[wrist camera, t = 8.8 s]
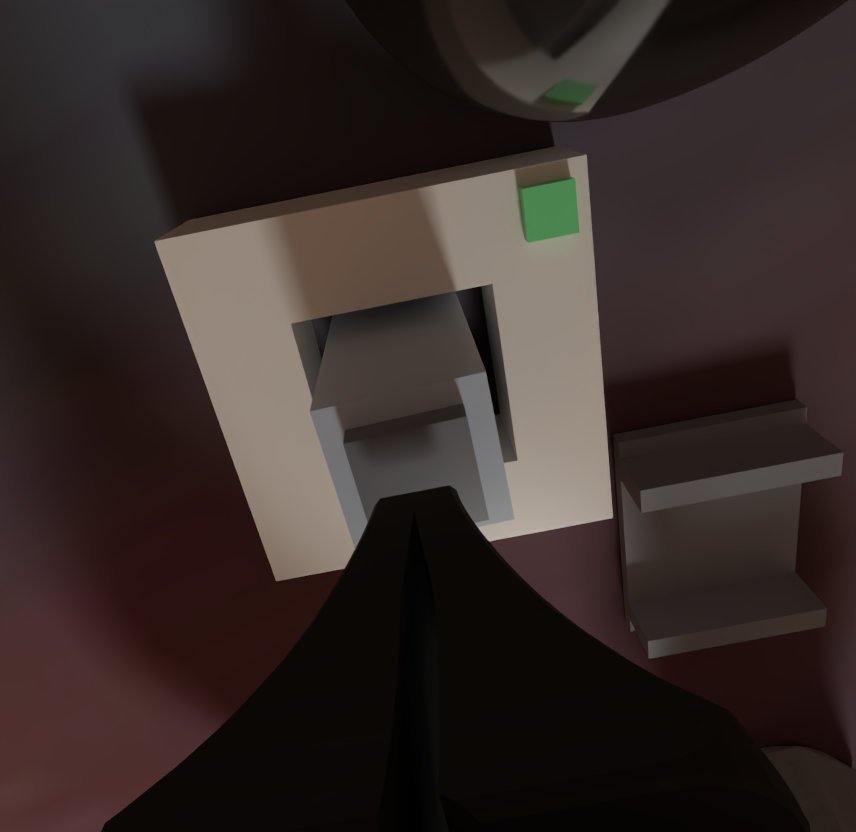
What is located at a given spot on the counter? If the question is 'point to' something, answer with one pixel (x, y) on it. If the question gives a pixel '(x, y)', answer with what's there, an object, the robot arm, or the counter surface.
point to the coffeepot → (818, 786)
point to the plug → (408, 410)
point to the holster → (717, 526)
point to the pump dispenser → (579, 48)
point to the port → (391, 283)
